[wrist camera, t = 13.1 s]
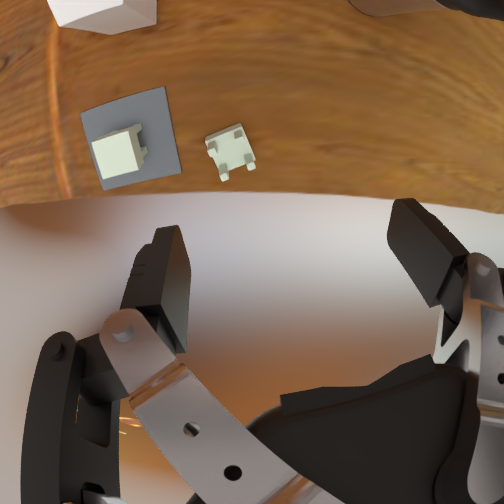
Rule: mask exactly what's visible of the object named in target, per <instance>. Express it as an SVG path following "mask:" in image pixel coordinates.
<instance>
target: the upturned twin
mask: <svg viewBox="0 0 504 504" xmlns="http://www.w3.org/2000/svg"><path fill="white" fill-rule="evenodd" d="M205 143H206V145H207V147H208V148H207V152H208V154H209V156H210V157H213V159H214V161H215V163H216V165H217V167H218V169H219V176H220V178H221V180H222V182H223V181H225V180H228V179H229V170H231V169H234V168H236V167H239V166H241V165H244V164H246V165H247V168H248V170H249V171H250V170H253V169H255V168H256V167H255V164H254V160H256V159H255V156H254V154H253V151H252V149H251V146H250V144H249V142H248V139H247V137H246V135H245V132H244V130H243V127H242V125H241V123H238V124H235V125H233V126H230V127H228V128H226V129H223V130H221V131H218V132H216V133H214V134H211V135H209V136H207V137H206V139H205Z"/></svg>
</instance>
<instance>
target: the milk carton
mask: <svg viewBox="0 0 504 504" xmlns="http://www.w3.org/2000/svg"><path fill="white" fill-rule="evenodd" d="M47 1H48V4H49V6H50V8H51V10H52V12H53V15H54V17H55V19H56V21H57V23H58V25H59V26H60V27H68V28H75V29H81V30H87V31H93V32H98V33H103V34H108V35H114V34H117V33H121V32H125V31H129V30H133V29H138V28H142V27H147V26H152V25H156V24H157V0H47Z"/></svg>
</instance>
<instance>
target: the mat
mask: <svg viewBox="0 0 504 504" xmlns="http://www.w3.org/2000/svg"><path fill="white" fill-rule="evenodd" d="M80 114H81V118H82V122H83V126H84V130H85V133H86V137H87V141H88V144H89V148H90V151H91V154H92V158H93V161H94V164H95V167H96V170H97V173H98V176H99V179H100V182H101V185H102V188H103V191H105V190H108V189H112V188H116V187H120V186H124V185H128V184H132V183H137V182H141V181H146V180H150V179H155V178H159V177H164V176H169V175H174V174H179V173H182V169H181V164H180V160H179V155H178V150H177V146H176V141H175V136H174V131H173V126H172V121H171V116H170V110H169V105H168V100H167V94H166V88H165V86H164V87H160V88H156V89H152V90H148V91H145V92H141V93H138V94H134V95H131V96H128V97H124V98H121V99H118V100H115V101H112V102H109V103H106V104H103V105H101V106H98V107H95V108H93V109H90V110H87V111H85V112H82V113H80ZM139 123H141V126H142V130H140V131H139V132H138V133H137V137H138V141H139V145H140V147H144V146H146V147H147V151H148V152H147V154H146V155H145V156H144V157H143V160H144V163H143V164H142V166H141V167H140V169H139V170H136V171H132V172H128V173H124V174H121V175H117V176H113V177H110V178H106V179H103V178H102V175H101V172H100V169H99V166H98V163H97V160H96V156H95V153H94V150H93V146H92V142H93V141H94V140H96V139H97V138H99V137H100V136H103V135H106V134H109V133H111V132H112V131H115V130H118V131H119V130H122V129H125V128H129V127H132V126H133V125H135V124H139Z"/></svg>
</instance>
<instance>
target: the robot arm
mask: <svg viewBox="0 0 504 504" xmlns="http://www.w3.org/2000/svg"><path fill="white" fill-rule="evenodd" d="M349 1H350V3H351V4H352V5H353V6H354V7H355V8H356V9H358V10H359V11H361V12H362V13H365V14H367V15H370V16H373V17H382V16H390V15H396V14H403V13H412V12H423V11H439V10H461V11H463V12H465V13H467V14H470V15H473V16H477V17H484V18H490V19H496V20H501V21H504V0H349ZM387 241H388V245H389V247H390V249H391V250H392V251H393V253H394V254H395V256H396V257H397V259H398V260H399V261H400V263H401V264H402V266H403V267H404V269H405V270H406V272H407V273H408V275H409V276H410V278H411V279H412V281H413V282H414V284H415V285H416V287H417V288H418V290H419V291H420V293H421V294H422V296H423V298H424V299H425V301H426V303H427V304H428V306H429V307H430V308H431V307H434V306H436V305H440V304H441V305H442V306H443V307H442V309H441V311H440V314H439V323H438V332H437V340H436V346H435V352H434V356H433V359H432V357H431V355H430V354H429V355H426V356H424V357H421V358H418V359H416V360H413V361H410V362H407V363H405V364H402V365H399V366H398V367H397V368H395V369H394V370H392V371H391V372H389V373H387V374H386V375H384V376H383V377H381V378H380V379H378V380H377V381H375V382H373V383H372V384H370V385H367V386H359V387H320V388H315V389H310V390H305V391H300V392H294V393H289V394H283V395H280V405H278V406H275V407H273V408H271V409H269V410H267V411H265V412H263V413H262V414H260V415H259V416H257V417H256V418H254V419H253V420H252V421H251V422H250V423H248V424H247V425H246V426H245V427H244V426H243V425H242V424H240V423H239V422H238V421H237V420H236V419H235V418H234V417H233V416H232V415H231V414H230V413H229V412H228V411H227V410H226V409H225V408H224V407H223V406H222V405H221V404H220V403H219V402H218V401H217V400H216V399H215V397H214V396H213V395H212V394H211V393H210V392H209V391H208V390H207V389H206V388H205V387H204V386H203V385H202V384H201V382H200V381H199V380H198V379H197V378H196V377H195V376H194V375H193V374H192V372H190V370H189V369H188V368H187V367H186V366H185V365H184V364H183V363H182V364H181V363H180V362H179V361H178V360H177V358H176V357H175V354H176V353H186V344H187V325H188V310H189V295H190V283H191V267H190V262H189V257H188V254H187V251H186V248H185V244H184V241H183V237H182V234H181V231H180V228H179V226H178V225H174V226H168V227H162V228H157V229H156V231H155V235H154V238H153V241H152V244H146V245H144V246H143V247H142V249H141V250H140V251H139V252H138V254H137V255H136V257H135V260H134V264H133V268H132V269H131V273H130V277H129V279H128V282H127V285H126V289H125V292H124V296H123V299H122V303H121V306H120V310H119V311H117V312H115V313H113V314H112V315H110V316H109V317H108V318H107V319H106V320H105V321H104V323H103V324H102V326H101V329H100V333H98V334H95V335H93V336H90V337H87V338H84V339H81V340H79V341H77V340H76V339H75V338H74V337H73V336H72V335H71V334H70V333H68V332H65V331H63V332H58V333H55V334H53V335H52V336H51V337H49V338H48V339H47V341H46V342H45V343H44V345H43V347H42V350H41V352H40V355H39V359H38V363H37V366H36V370H35V374H34V379H33V383H32V387H31V392H30V397H29V402H28V407H27V413H26V420H25V427H24V435H23V444H22V456H21V504H127V503H126V502H125V501H123V500H122V499H121V498H120V483H119V414H120V399H122V398H126V397H129V396H130V397H131V399H130V400H129V404H130V406H131V408H132V410H133V411H134V413H135V415H136V416H137V418H138V419H139V421H140V422H141V424H142V425H143V427H144V428H145V430H146V431H147V433H148V434H149V436H150V437H151V438H152V440H153V441H154V443H155V444H156V445H157V447H158V448H159V449H160V451H161V452H162V453H163V455H164V456H165V457H166V458H167V460H168V461H169V462H170V463H171V464H172V466H173V467H174V468H175V470H176V471H177V472H178V473H179V474H180V475H181V477H183V479H184V480H185V481H186V482H187V483H188V484H189V486H190V487H191V488H192V489H193V490H194V491H195V493H194V495H193V496H192V497H191V498H190V500H189V501H188V502H187V503H186V504H504V268H497V266H496V265H495V263H494V262H493V261H492V260H491V259H490V258H489V257H487V256H485V255H483V254H481V253H476V252H474V253H471V254H470V253H469V252H468V250H467V249H466V248H465V247H464V246H463V245H462V244H461V243H460V241H458V239H457V238H456V237H455V236H454V235H453V234H452V233H451V232H449V230H448V229H447V228H446V227H445V226H444V225H443V224H442V222H441V221H440V220H438V218H436V216H434V215H433V214H431V213H429V212H428V211H427V210H426V209H425V208H424V207H423V206H422V205H421V204H420V203H419V202H417V201H416V200H415V199H414V198H404V199H396V200H395V201H394V203H393V207H392V212H391V217H390V222H389V226H388V231H387ZM78 398H79V402H78ZM77 405H78V410H77ZM76 414H77V420H76Z"/></svg>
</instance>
